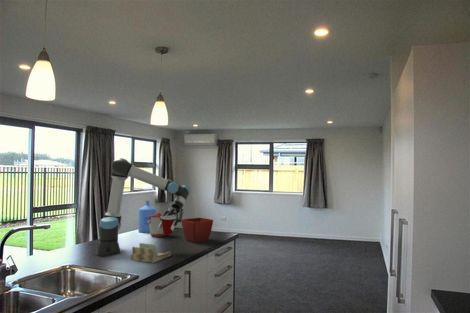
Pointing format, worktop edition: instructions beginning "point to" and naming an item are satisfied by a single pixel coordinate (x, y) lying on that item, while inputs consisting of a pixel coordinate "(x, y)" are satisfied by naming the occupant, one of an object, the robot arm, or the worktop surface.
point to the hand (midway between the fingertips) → (165, 228)
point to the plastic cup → (167, 224)
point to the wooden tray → (147, 255)
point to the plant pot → (197, 229)
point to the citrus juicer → (155, 225)
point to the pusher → (150, 246)
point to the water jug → (145, 217)
